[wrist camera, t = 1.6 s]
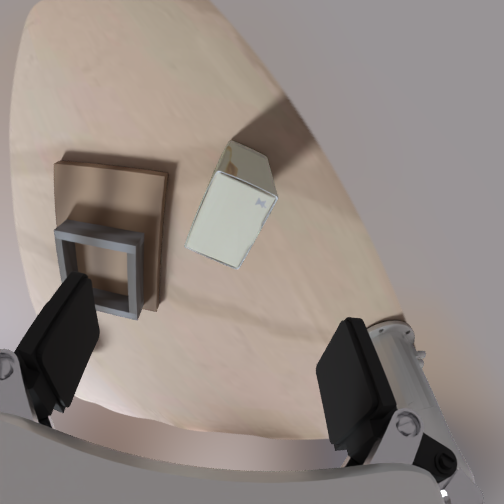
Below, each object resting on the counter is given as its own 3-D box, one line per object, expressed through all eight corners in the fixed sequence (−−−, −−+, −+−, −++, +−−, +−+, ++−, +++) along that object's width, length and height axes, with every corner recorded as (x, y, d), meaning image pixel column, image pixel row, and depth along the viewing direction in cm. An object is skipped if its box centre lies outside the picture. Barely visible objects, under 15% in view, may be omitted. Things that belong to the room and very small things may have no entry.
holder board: (168, 172, 29) (156, 185, 25) (158, 304, 37) (150, 327, 33) (60, 160, 27) (38, 170, 23) (70, 284, 36) (56, 303, 32)
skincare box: (229, 138, 27) (218, 163, 17) (268, 156, 28) (282, 193, 18) (204, 193, 30) (180, 249, 19) (241, 209, 31) (238, 272, 20)
